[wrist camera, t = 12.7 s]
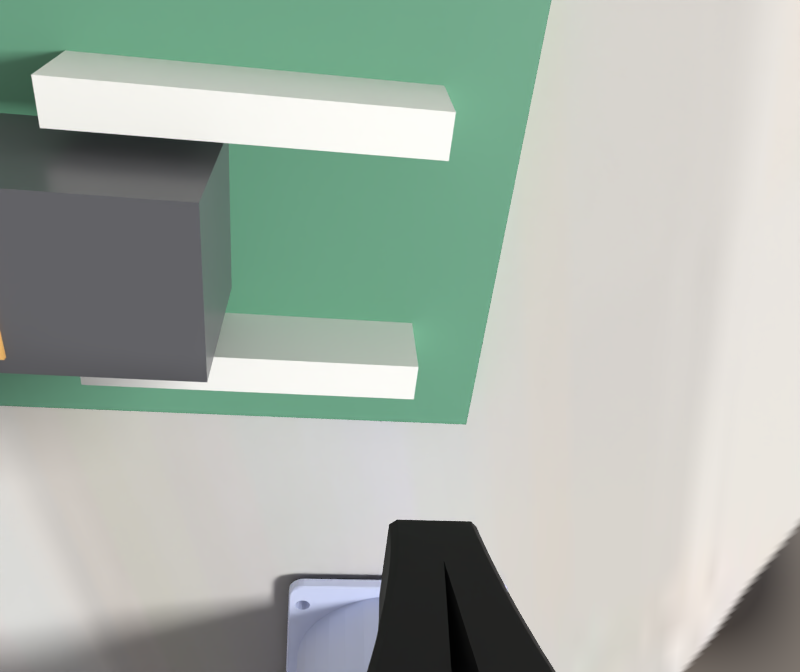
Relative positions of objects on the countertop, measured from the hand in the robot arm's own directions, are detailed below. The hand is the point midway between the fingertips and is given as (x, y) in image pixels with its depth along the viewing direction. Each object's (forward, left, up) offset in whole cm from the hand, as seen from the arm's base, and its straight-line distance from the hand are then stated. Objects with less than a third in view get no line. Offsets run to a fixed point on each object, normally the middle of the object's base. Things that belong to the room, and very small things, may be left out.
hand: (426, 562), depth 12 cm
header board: (+2, +4, -9) cm, 11 cm away
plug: (+2, +7, -8) cm, 11 cm away
